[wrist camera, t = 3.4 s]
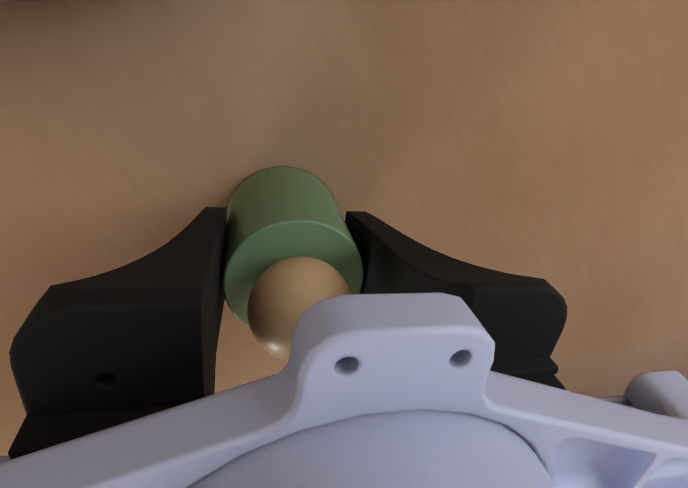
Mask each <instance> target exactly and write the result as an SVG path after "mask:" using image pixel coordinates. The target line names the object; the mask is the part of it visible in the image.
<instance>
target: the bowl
mask: <svg viewBox="0 0 688 488" xmlns="http://www.w3.org/2000/svg"><path fill="white" fill-rule="evenodd" d="M0 1H36V0H0Z"/></svg>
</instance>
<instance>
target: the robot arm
mask: <svg viewBox="0 0 688 488" xmlns="http://www.w3.org/2000/svg"><path fill="white" fill-rule="evenodd" d="M345 223H346V225H347V228H348V230H349V232H350V234H351V236H352V238H353V240H354V242H355V244H356V246H357V248H358V251H359V253H360V255H361V258H362V262H363V268H364V276H363V283H362V287H361V290H360V293H359V294H348V295H340V296H336V297H332V298H328V299H323V300H319V301H318V302H317V303H316V304H314V305H313V306H312V307H310V308H309V309H308V310H306V311H305V312H304V313H302V314H301V315H300V317H299V319H298V322H297V324H296V326H295V328H294V331H293V333H292V340H291V350H290V357H289V361H288V364H287V365H286V367H285V369H283V370H282V371H281V372H279V373H278V374H274V375H271V376H268V377H265V378H262V379H259V380H256V381H253V382H250V383H247V384H243V385H240V386H237V387H234V388H231V389H228V390H225V391H222V392H219V393H216V394H214V388H215V366H216V351H217V343H218V336H219V330H220V324H221V318H222V312H223V306H224V299H225V296H224V292H223V265H224V252H225V244H226V228H227V208H220V207H205V208H204V209H203V210H202V211H201V212H200V213H199V214H198V215H197V216H196V218H195V219H194V220H193V221H192V222H191V223H190V224H189V225H188V226H187V227H185V228H184V229H183V230H182V231H181V232H180V233H179V234H178V235H177V236H175V237H174V238H173V239H172V240H170V241H169V242H168V243H166V244H165V245H163V246H162V247H160V248H159V249H157V250H155V251H153V252H152V253H150V254H148V255H146V256H145V257H142V258H140V259H138V260H136V261H134V262H131V263H129V264H127V265H125V266H122V267H120V268H117V269H114V270H112V271H109V272H106V273H102V274H99V275H96V276H92V277H89V278H85V279H80V280H76V281H71V282H67V283H62V284H57V285H52V286H50V288H49V289H48V290H47V291H46V292H45V294H44V295H43V296H42V297H41V298H40V300H39V301H38V302H37V304H36V305H35V307H34V308H33V309H32V311H31V312H30V314H29V315H28V317H27V318H26V320H25V322H24V323H23V325H22V326H21V328H20V329H19V331H18V332H17V334H16V335H15V337H14V339H13V342H12V345H11V349H10V352H9V354H10V362H11V368H12V371H13V375H14V378H15V381H16V384H17V387H18V390H19V393H20V396H21V399H22V402H23V405H24V408H25V411H26V415H27V416H26V418H25V420H24V422H23V424H22V426H21V428H20V430H19V432H18V434H17V436H16V438H15V440H14V442H13V444H12V446H11V448H10V450H9V452H8V454H9V456H1V457H0V488H688V379H686V378H685V377H684V376H683V375H682V374H681V373H679V372H678V371H677V370H670V371H657V372H645V373H642V374H639V375H638V376H636V377H634V378H633V379H632V381H631V382H630V383H629V385H628V386H627V388H626V390H625V393H624V396H615V397H605V398H594V397H590V396H586V395H582V394H578V393H574V392H571V391H567V390H566V388H565V387H564V386H563V385H562V384H561V383H560V381H559V380H558V379H557V378H556V377H555V375H554V374H556V373H557V371H558V366H557V365H556V364H555V363H554V362H553V360H552V359H551V358H550V355H551V353H552V351H553V349H554V347H555V345H556V343H557V341H558V339H559V337H560V335H561V332H562V330H563V328H564V325H565V322H566V318H567V306H566V303H565V300H564V298H563V297H562V296H561V295H560V294H559V293H558V291H556V290H555V289H554V288H553V287H552V286H551V285H550V284H549V283H548V282H547V281H546V280H544V279H540V278H533V277H527V276H520V275H514V274H508V273H504V272H499V271H495V270H490V269H486V268H483V267H479V266H475V265H472V264H469V263H466V262H463V261H460V260H457V259H454V258H451V257H449V256H446V255H444V254H442V253H439V252H437V251H435V250H432V249H430V248H428V247H426V246H424V245H422V244H420V243H418V242H416V241H415V240H413V239H411V238H409V237H407V236H406V235H404V234H402V233H401V232H399V231H397V230H396V229H394V228H392V227H391V226H389V225H388V224H386V223H384V222H383V221H381V220H379V219H378V218H376V217H374V216H373V215H371V214H369V213H367V212H357V211H347V212H346V219H345Z"/></svg>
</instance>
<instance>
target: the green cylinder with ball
mask: <svg viewBox="0 0 688 488" xmlns="http://www.w3.org/2000/svg"><path fill="white" fill-rule="evenodd" d="M363 276H364V268H363V262H362V258H361V255H360V253H359V251H358V248H357V246H356V244H355V242H354V240H353V238H352V236H351V234H350V232H349V230H348V228H347V225H346V223H345V221H344V219H343V217H342V215H341V213H340V211H339V209H338V207H337V205H336V202H335V200H334V198H333V196H332V194H331V193H330V191H329V189H328V188H327V187H326V185H325V184H324V183H323V182H322V181H321V180H320V179H318V178H317V177H316V176H314V175H312V174H311V173H309V172H306V171H304V170H301V169H297V168H293V167H274V168H268V169H265V170H262V171H259V172H257V173H255V174H253V175H251V176H250V177H248V178H247V179H246V180H244V181H243V182H242V183H241V184H240V185H239V186H238V187H237V189H236V190H235V191H234V193H233V194H232V196H231V198H230V200H229V203H228V206H227V228H226V244H225V252H224V265H223V292H224V296H225V299H226V301H227V304H228V306H229V307H230V309H231V310H232V312H233V313H234V314H235V315H236V317H237V318H238V319H239V320H241V321H242V322H243V323H244V324H245V325H247V326H249V327H250V329H251V331H252V334H253V336H254V337H255V339H256V341H257V342H258V344H259V345H260V346H261V347H262V348H263V349H264V350H265V351H266V352H268V353H269V354H270V355H272V356H274V357H275V358H277V359H279V360H282V361H285V362H288V361H289V357H290V350H291V340H292V333H293V331H294V328H295V326H296V324H297V322H298V319H299V317H300V315H301V314H302V313H304V312H305V311H306V310H308V309H309V308H310V307H312V306H313V305H314V304H316V303H317V302H318V301H319V300H323V299H328V298H332V297H336V296H340V295H348V294H359V293H360V290H361V287H362V283H363Z"/></svg>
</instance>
